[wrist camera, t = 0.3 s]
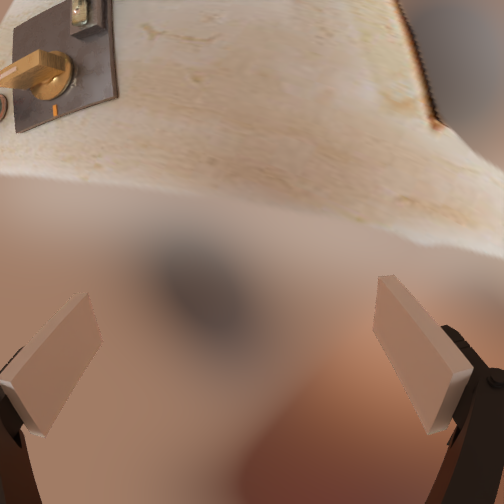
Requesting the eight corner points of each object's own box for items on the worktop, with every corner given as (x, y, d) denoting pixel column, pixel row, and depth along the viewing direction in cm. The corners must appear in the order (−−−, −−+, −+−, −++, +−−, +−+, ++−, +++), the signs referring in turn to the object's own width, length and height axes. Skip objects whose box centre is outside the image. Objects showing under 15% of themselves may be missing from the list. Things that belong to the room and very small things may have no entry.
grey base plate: (19, 30, 30) (-5, 22, 24) (111, -13, 29) (93, -31, 23) (21, 132, 36) (-5, 134, 30) (117, 97, 35) (96, 91, 29)
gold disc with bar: (25, 67, 31) (-11, 60, 23) (71, 44, 30) (38, 30, 23) (27, 110, 33) (-11, 110, 25) (74, 90, 33) (38, 83, 25)
